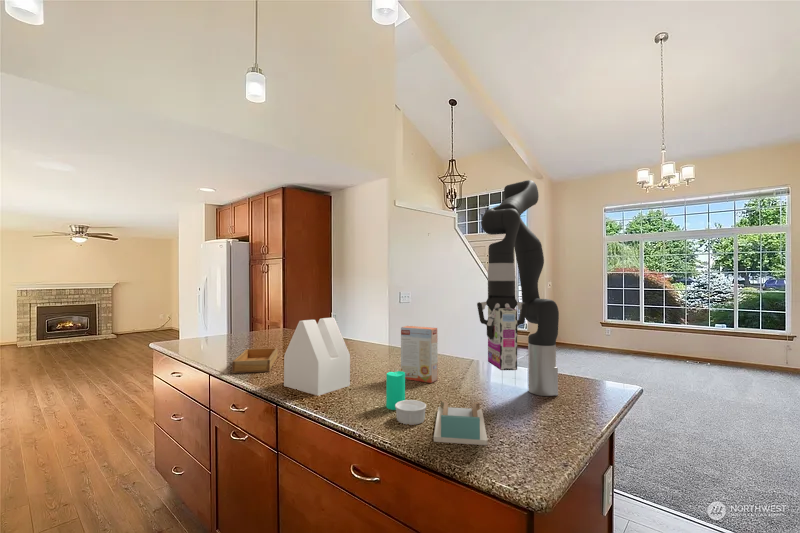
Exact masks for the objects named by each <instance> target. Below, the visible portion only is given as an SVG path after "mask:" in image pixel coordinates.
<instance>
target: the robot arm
mask: <svg viewBox="0 0 800 533" xmlns="http://www.w3.org/2000/svg"><path fill="white" fill-rule="evenodd" d="M539 196H540V195H539V189H538V186H537V184H536V182H534V180H531V179H529V180H528V179H527V180H523V181H520V182H519V181H518V182H515V183H511V184H506V185H505V187H504V188H503V197H504V198H503V199H504V200H503V201H502V202H501V203H500V204H499V205H497V206H494V207H491V208H489V209H488V210H486V211H485V213H483V215H482V217H481V227H482V231H483V232H485V233H486V234H487V235H492V236H493V235H494V236H495V235H505V236H504V238H503V239H502V240H500V241H497V242H496V241H495V242H492V243H490V244H489V246H488V254H487V255H488V267H487V268H488V269H487V299H486V301H482V302H479V301H478V302H476V306H477V311H478V312H477V313H478V317H479V322H480V323H481V324H483V325H485V326H486V336H487V338H488V337H489V339H492V325H491V324H492V322H493V320H494V318H495V309H496V308H510V309H515V308H516V307H517V308H518V309H517V310H519V316H518V319H517V328H518V327H519V326H520V325H521V326H522V325H524V324H525V320H526V321H527V322H529V323H531V324H535V325H537V330H536V332H534V333H531V334H529V335H528V338H527V341H528V342H527V343H528V346H527V348H528V359H527V360H528V392H529V393H530V394H532V395H536V396H542V397H552V396H559V371H558V370H559V369H558V366H557V346H556V345H557V338H558V335H559V320H560V319H559V318H560V313H559V311H560V310H559V307H558V304H557V303H556V301H554V300H553V299H550V298H549V299H548V298H540V294H539V279H540V276H541V274H542V271H543V267H544V263H545V258H544V252H543V245H542V242H541V240H540V239H539V238H538V236H536V234H535V233H534V232H533V231H532V230H531V229H530V228H529V227H528V226H527V225H526V224H525V223H524V221H523V219H522V218H521V215H522V214H523V213H524V212H526V211H527V210H528V209H530V208H531V207H533V206H536V204H537V203H538V201H539ZM515 258H516V259H515ZM515 260H516V264H517V268H518V276H519V281H520V289H521V292H520V293H521V302H518V301H517V299H516V278H517V277H516V270H515V268H516V267H515ZM486 306H487V308H488V307H489V308H490V310H491V312H490V315H489V318H488V317H487V319H485V316H484V315H485V314H484V310H485V309H486ZM493 314H494V315H493Z"/></svg>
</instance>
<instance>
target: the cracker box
mask: <svg viewBox="0 0 800 533" xmlns="http://www.w3.org/2000/svg"><path fill="white" fill-rule="evenodd" d="M438 344H439V343H438V327H427V326H426V327H425V326H415V325H414V326H413V325H405V326H401V327H400V371H403V372H405V380H410V381H415V382H422V383H426V384H427V383H428V384H432V383H435V382H436V381H438V374H439V372H438V371H439V370H438V365H439V363H438V359H439V358H438V350H439V349H438Z"/></svg>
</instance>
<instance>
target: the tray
mask: <svg viewBox="0 0 800 533" xmlns="http://www.w3.org/2000/svg"><path fill="white" fill-rule="evenodd" d="M278 350H279V349H278V347H274V348H273V347H271V348H265V347H264V348H246V349H245V350H243V351H242V352H241V353H240V354H239V355H238V356H237V357H236V358H234V359H233V360H232V364H231V366H232V368H231V369H232V370H231V371H232V374H243V373H244V374H245V373H261V372H262V373H263V372H264V373H267V372H270V371H271V369H272V368H273V366H274V364H275V362H276V361H277V358H278V357H279V356H278V354H279V352H278Z"/></svg>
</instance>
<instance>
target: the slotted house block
mask: <svg viewBox="0 0 800 533" xmlns="http://www.w3.org/2000/svg"><path fill="white" fill-rule="evenodd" d="M283 357H284V359H283V365H284V366H283V386H284V387H285V388H286V387H287V388H290V389H294V390H296V389H297V391H300V392H304V393H308V394H311V395H314V396H322V395H325V394H328V393H331V392H334V391H338V390H341V389H343V388H346V387H350V386H351V354H350V351H349V349H348V347H347V344H346V342H345V340H344V337H343V334H342V333H341V330H340V327H339V325H338V322H337V321H336V318H335V317H323V318H319V320H318V322H317V321H316V319H304V320H299V321H298V323H297V326H296V327H295V330H294V332H293V334H292V337H291V339H290V342H289V343H288V346H287V348H286V351H285V352H284V356H283Z"/></svg>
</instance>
